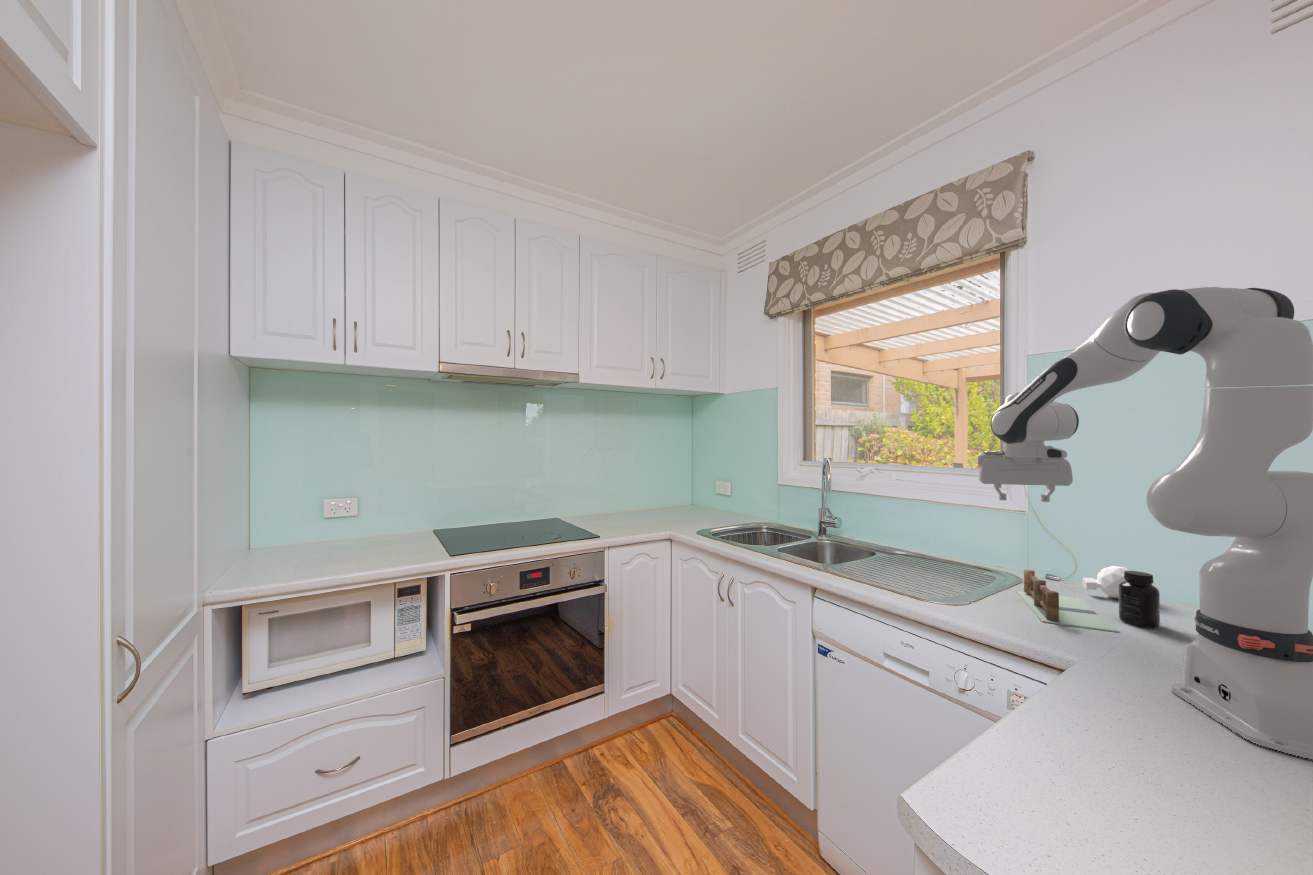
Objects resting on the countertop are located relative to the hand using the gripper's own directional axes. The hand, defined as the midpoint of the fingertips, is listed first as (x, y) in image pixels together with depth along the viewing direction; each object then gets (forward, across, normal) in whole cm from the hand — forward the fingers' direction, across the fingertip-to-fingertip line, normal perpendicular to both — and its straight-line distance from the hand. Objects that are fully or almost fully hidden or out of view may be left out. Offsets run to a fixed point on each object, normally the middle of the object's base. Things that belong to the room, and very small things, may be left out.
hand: (1023, 500), depth 128 cm
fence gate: (+26, +2, -1) cm, 26 cm away
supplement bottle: (+27, +20, -10) cm, 35 cm away
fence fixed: (+26, +2, -13) cm, 29 cm away
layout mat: (+27, +6, -8) cm, 28 cm away
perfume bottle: (+28, +22, +10) cm, 37 cm away
